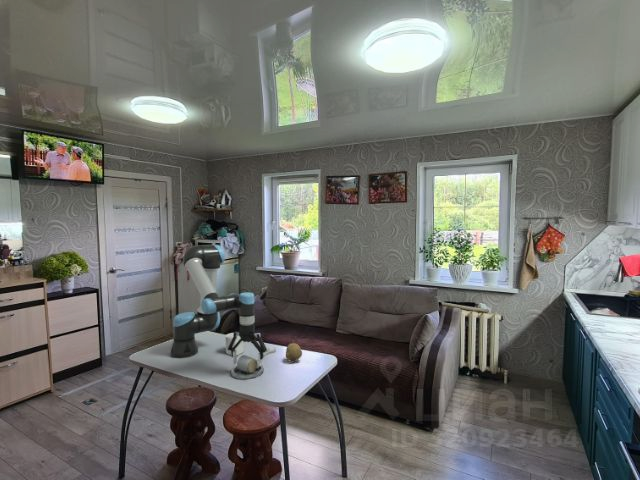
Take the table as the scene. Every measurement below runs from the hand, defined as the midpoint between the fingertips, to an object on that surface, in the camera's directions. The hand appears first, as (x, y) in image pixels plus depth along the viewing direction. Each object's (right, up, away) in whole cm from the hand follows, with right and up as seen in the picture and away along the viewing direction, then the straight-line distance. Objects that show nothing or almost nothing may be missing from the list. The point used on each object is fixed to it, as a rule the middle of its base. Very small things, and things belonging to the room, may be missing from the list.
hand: (247, 364), depth 171 cm
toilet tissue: (-13, -3, +29) cm, 32 cm away
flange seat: (0, -4, 0) cm, 4 cm away
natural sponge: (+23, -4, +14) cm, 27 cm away
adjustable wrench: (+3, -4, +21) cm, 22 cm away
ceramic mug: (+1, -4, +1) cm, 4 cm away
